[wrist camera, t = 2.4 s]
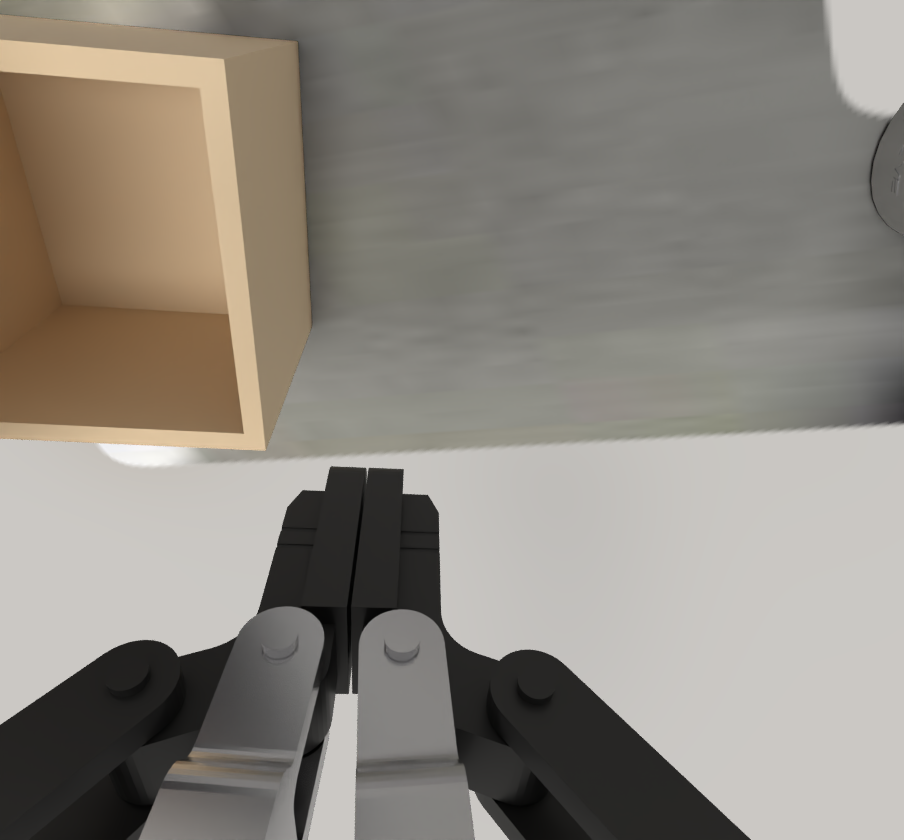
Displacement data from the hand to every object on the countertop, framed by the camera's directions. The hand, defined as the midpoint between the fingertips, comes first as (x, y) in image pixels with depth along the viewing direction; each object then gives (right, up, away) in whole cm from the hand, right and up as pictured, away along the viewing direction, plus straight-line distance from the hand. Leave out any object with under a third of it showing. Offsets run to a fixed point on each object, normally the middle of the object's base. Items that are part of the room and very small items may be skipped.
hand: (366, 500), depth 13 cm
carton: (-13, +13, +18) cm, 26 cm away
